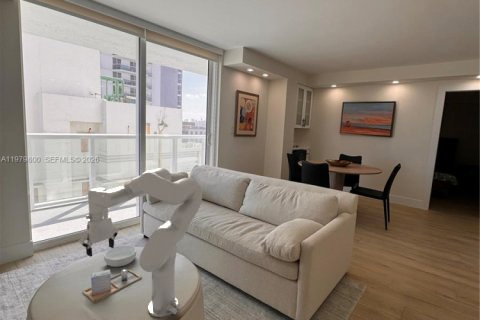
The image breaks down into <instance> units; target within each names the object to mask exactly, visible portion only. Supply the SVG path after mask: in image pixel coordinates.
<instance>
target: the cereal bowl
mask: <svg viewBox="0 0 480 320" xmlns="http://www.w3.org/2000/svg"><path fill="white" fill-rule="evenodd" d="M136 256H137V248H136V247H135V246H133V245H118V246H114V248H111V247H110V248H108V250H106V251H105V252H104V254H103V261H104V262H105V264H106V265H108V266H109V267H114V268H117V267H118V268H119V267H123V266H127V265H129V264H131V263H132V262H133V261H134V260H135V259H136Z"/></svg>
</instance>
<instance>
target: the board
mask: <svg viewBox="0 0 480 320" xmlns="http://www.w3.org/2000/svg"><path fill="white" fill-rule="evenodd" d="M127 278H128V279H127V280H126V281H121V272H120V273H118V274H116V275H114V276H111V291H107V292H103V293H99V294H95V295H92V286H90V287H89V288H86V289H85V290H82V294H83V295H84V296H86V298H88V299H89V300H90V301H91V302H92V303H94V304H96V303H98V302H100V301H102V300H104V299H105V298H108V297H109V296H112V295H113V294H115V293H117V292H118V291H121V290H123V289H125V288H126V287H128V286H130V285H133V284H134V283H135V282H138V281H140V280H141V279H142V278H143V277H142V276H141V275H139V274H138V273H136V272H134V271H133V270H131V269H127Z"/></svg>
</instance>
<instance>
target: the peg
mask: <svg viewBox="0 0 480 320" xmlns="http://www.w3.org/2000/svg"><path fill="white" fill-rule="evenodd" d="M127 270H128V269H127V268H123V269H121V271H120V273H121V281H126V280H127V279H128V278H127Z"/></svg>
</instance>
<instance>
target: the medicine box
mask: <svg viewBox="0 0 480 320" xmlns="http://www.w3.org/2000/svg"><path fill="white" fill-rule="evenodd" d="M111 274H112V273H111V269H106V270H101V271H96V272H92V273H91V275H90V281H91V283H90V284H91V286H90V287H92V295H95V294H99V293H103V292H107V291H111V278H112V276H111Z"/></svg>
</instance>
